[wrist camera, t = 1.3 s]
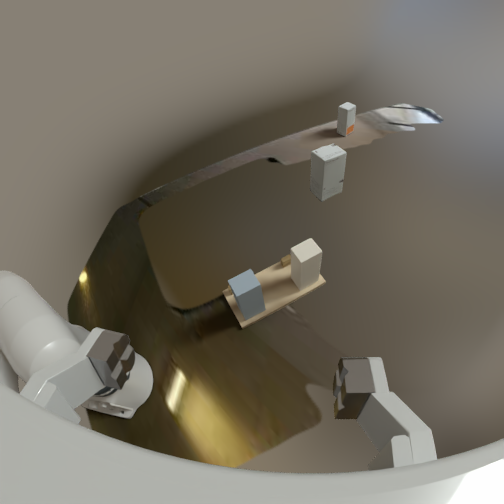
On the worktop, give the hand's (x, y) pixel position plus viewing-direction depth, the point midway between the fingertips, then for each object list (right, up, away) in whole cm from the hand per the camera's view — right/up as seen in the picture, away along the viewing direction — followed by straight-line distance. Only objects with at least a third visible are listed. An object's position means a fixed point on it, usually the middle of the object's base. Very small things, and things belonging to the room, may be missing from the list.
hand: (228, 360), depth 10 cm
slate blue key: (+1, -9, +55) cm, 56 cm away
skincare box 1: (+23, +22, +75) cm, 82 cm away
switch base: (+6, -5, +59) cm, 59 cm away
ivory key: (+13, -2, +58) cm, 59 cm away
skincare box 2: (+37, +50, +92) cm, 111 cm away
